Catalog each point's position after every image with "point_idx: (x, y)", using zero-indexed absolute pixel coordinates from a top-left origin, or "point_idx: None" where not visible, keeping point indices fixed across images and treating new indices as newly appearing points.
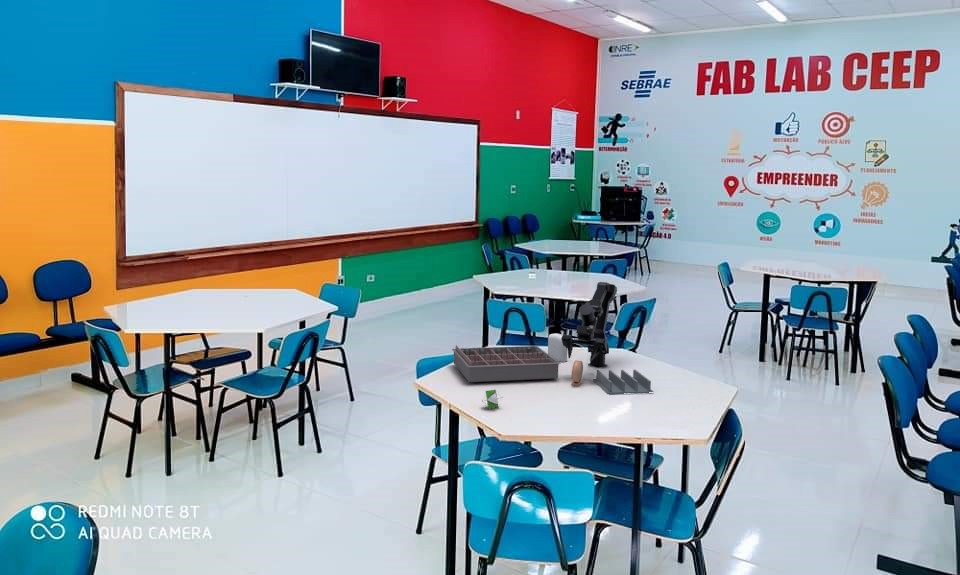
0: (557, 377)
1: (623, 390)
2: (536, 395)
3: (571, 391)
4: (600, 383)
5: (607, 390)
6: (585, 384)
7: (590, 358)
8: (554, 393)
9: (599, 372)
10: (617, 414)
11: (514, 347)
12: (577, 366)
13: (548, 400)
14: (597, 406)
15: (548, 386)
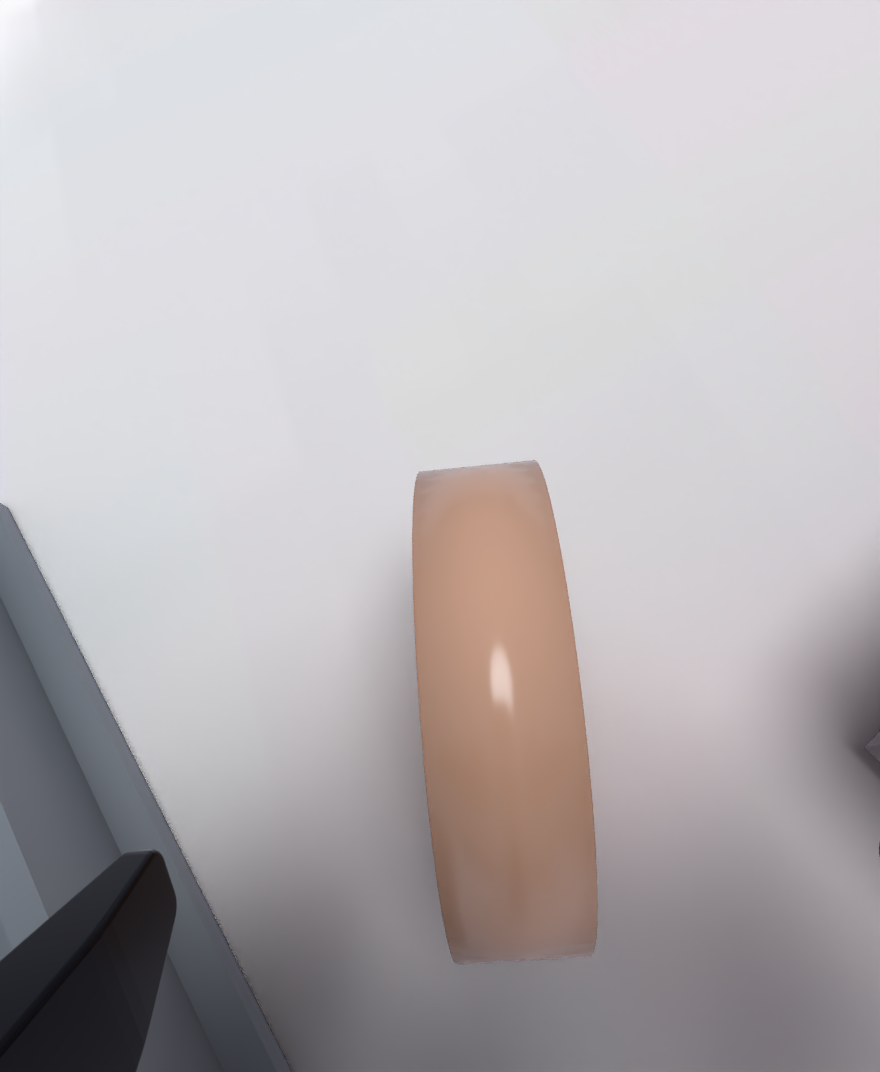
0: (875, 740)
1: None
2: (695, 111)
3: (438, 394)
4: None
5: (3, 575)
6: (380, 804)
7: (122, 883)
8: (574, 242)
9: None
10: None
11: None
12: (429, 479)
13: (522, 64)
14: (76, 145)
15: (782, 425)
